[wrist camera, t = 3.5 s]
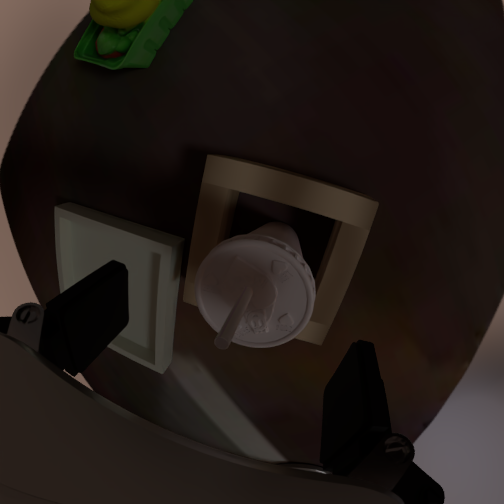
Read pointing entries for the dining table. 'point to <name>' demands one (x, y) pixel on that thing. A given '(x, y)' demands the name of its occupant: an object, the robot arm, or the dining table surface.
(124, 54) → the fruit basket
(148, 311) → the tray
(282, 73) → the dining table surface
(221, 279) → the smoothie
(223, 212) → the holder
